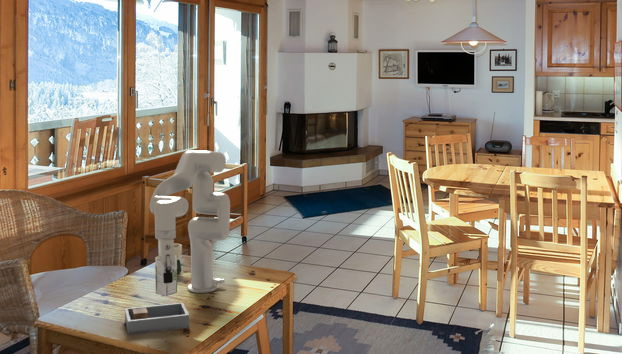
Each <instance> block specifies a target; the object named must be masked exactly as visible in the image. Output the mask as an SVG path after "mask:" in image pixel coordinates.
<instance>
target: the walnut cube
mask: <svg viewBox="0 0 622 354" xmlns="http://www.w3.org/2000/svg"><path fill="white" fill-rule="evenodd" d="M146 318H148V312H147V309H146V308H140V309H133V320H137V319H146Z"/></svg>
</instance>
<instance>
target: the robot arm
mask: <svg viewBox="0 0 622 354" xmlns="http://www.w3.org/2000/svg"><path fill="white" fill-rule="evenodd" d="M226 162H227V161H226V157H225V155H224V153H222V152H221V151H213V150H212V151H211V150H198V149H197V150H191V149H190V150H187V151H184V152H183V153H182V155H181V157H180V159H179V161H178V163H177V165H176V168H175V170H174V173H173V175H171V176H169V177H168V178H166V179H164V180H162V182H160V183H159V184H158V185H157V186H156V188H155V189H154V191H153V193H152V195H151V198H150V202H149V211H150V212H151V214H153V215H154V236H155V237H154V239H156V240H157V241H158V242H157V243H158V245H157V247H158V256H160V259H161V264H162V265H163V266H164V273H163V278H164V283H172V282H173V278H172V265H171V263H172V264H173V265H175V251H174V244H175V240H174V239H176V238H177V230H176V227H177V226H176V222H177V221H176V218H181V217H183V216H184V215H186V214H187V212H188V211H189V202H188V200H187V198H186V197H184V196H183V197H182V196H176V195H175V196H173V194H175V193H180V192H182V191H185V190H188V189H190V188H191V187H192V186H193V187H192V210H193V212H194V213H196V214H200V215H201V214H202V215H215V216H217V217H211V216H210V217H207V216H205V217H204V216H196V217H193V218H192V219H190V220H189V222H188V224H187V231H188V236H189V241H190V242H189V243H190V244H189V245H190V275H191V276H190V280H191V283H190V284H187V290H188V291H189V292H190V293H197V294H205V293H206V294H207V293H211V292H214V291H216V290H217V289H218V285H220V284H225V279H224V278H222V279H221V278H220V277H218V278H215V276H214V248H213V245H212V243H211V242H210V241H225V240H228V238H229V233H230V224H231V223H230V221H231V217H230V215H231V201H230V197H229V195H228V194H227V193H225V192H214V179H213V176H212V175H211V173H221V172H223V171H224V170H225V167H226ZM165 261H166V262H167V264H165ZM165 266H167V267H165Z"/></svg>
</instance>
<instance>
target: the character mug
mask: <svg viewBox="0 0 622 354" xmlns="http://www.w3.org/2000/svg"><path fill="white" fill-rule="evenodd" d="M174 251H175V256H176V257H177V273H181V272H182V266H181V259H182V258H183V252H182V251H183V245H182V244H180V243H174Z"/></svg>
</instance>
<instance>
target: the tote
mask: <svg viewBox="0 0 622 354" xmlns="http://www.w3.org/2000/svg"><path fill="white" fill-rule="evenodd" d="M140 308H146V309H147V312H148V318H146V319H137V320H133V309H140ZM124 322H125V326H126V330H127V334H128V336H129V335H137V334H145V333H155V332H164V331H171V330H180V329H189V328H190V314H189V312H188V309H187V308H186V306H185V304H184V302H176V303H166V304H165V303H163V304H155V305H147V306H137V307H136V306H134V307H125V308H124Z"/></svg>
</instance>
